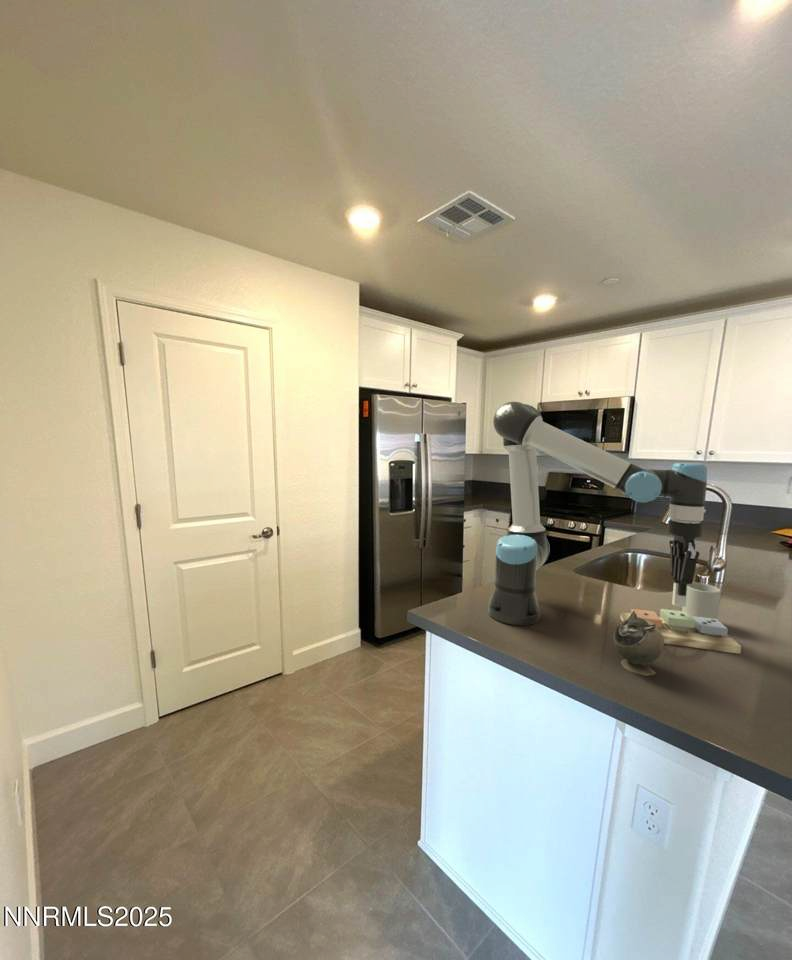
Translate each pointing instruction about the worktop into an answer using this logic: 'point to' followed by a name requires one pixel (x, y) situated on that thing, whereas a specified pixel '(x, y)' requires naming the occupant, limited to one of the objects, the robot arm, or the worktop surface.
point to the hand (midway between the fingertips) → (678, 605)
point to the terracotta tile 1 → (648, 616)
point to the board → (695, 638)
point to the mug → (702, 600)
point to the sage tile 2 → (677, 620)
